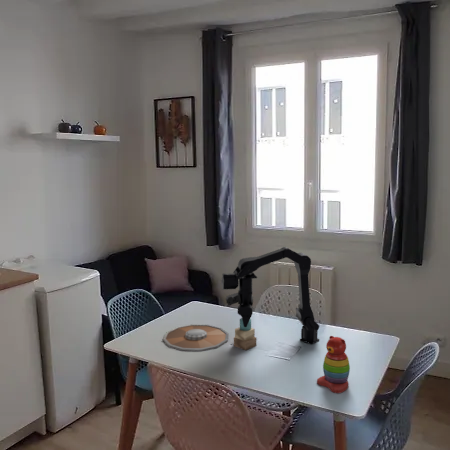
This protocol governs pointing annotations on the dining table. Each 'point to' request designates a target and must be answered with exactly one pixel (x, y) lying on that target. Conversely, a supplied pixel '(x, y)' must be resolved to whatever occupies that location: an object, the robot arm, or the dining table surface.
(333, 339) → the stacking bear
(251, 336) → the oak top block
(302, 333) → the robot arm
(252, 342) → the walnut base block
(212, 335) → the shield
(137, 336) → the dining table surface
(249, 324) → the teal cylinder
